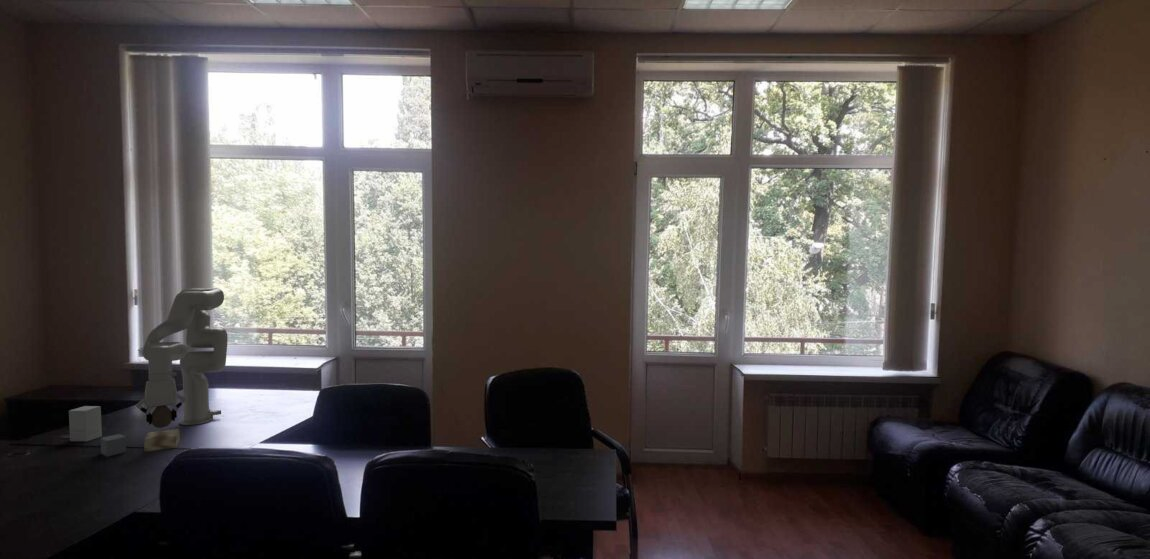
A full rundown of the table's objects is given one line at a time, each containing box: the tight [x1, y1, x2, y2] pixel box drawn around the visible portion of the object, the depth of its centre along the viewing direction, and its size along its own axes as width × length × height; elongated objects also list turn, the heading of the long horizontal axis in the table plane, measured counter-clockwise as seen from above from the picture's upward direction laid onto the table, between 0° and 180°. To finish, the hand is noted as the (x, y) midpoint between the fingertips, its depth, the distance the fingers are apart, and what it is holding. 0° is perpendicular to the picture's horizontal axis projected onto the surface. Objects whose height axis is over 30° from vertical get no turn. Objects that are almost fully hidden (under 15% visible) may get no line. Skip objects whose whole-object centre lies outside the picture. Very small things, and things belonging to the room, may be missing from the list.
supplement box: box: [68, 405, 103, 442], centre depth 235 cm, size 7×7×13 cm
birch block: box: [143, 428, 181, 453], centre depth 227 cm, size 10×10×5 cm
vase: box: [151, 405, 173, 429], centre depth 226 cm, size 7×7×9 cm
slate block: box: [100, 433, 127, 457], centre depth 219 cm, size 6×6×6 cm
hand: (161, 421), depth 227 cm, fingers closed on vase, 6 cm apart
